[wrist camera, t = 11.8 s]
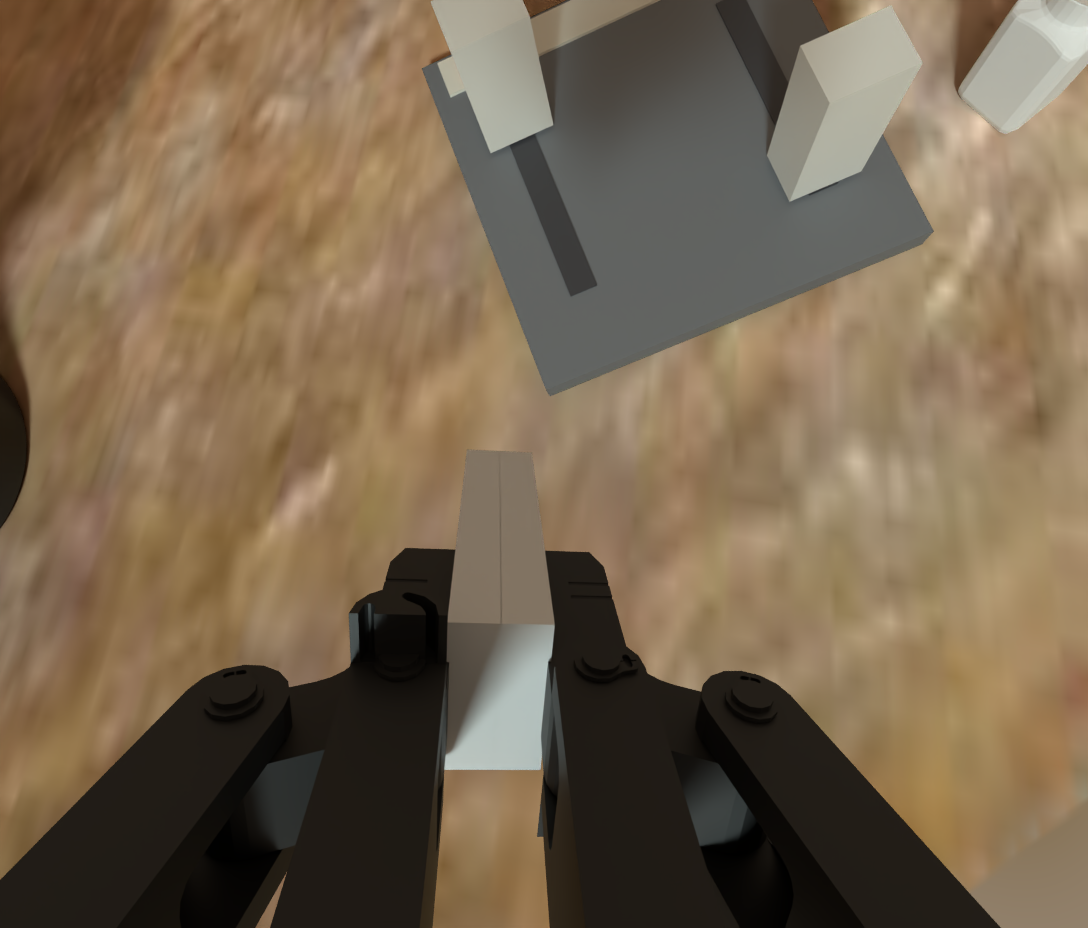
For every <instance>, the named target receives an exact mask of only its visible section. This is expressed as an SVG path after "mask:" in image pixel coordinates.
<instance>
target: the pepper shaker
mask: <svg viewBox="0 0 1088 928" xmlns="http://www.w3.org/2000/svg"><path fill="white" fill-rule="evenodd" d="M1087 64H1088V0H1018V1H1017V2H1016V3H1015V4H1014V6H1013V7H1012V9H1011V10H1010V12H1009V13H1008V15H1007V16H1006V18H1005V19H1004V20H1003V22H1002V23H1001V25H1000V26H999V28H998V29H997V31H996V32H995V34H994V35H993V37H992V38H991V40H990V41H989V43H988V44H987V46H986V47H985V49H984V50H983V52H982V53H981V55H980V56H979V58H978V59H977V61H976V62H975V64H974V65H973V66H972V68H971V69H970V71H969V72H968V74H967V75H966V77H965V78H964V80H963V81H962V83H961V85H960V87H959V91H958V93H959V95H960V97H961V99H962V100H964V101H965V102H966V103H967V104H968V105H969V106H970V107H972V108H973V109H974V110H975V111H976V112H977V113H978V114H979V115H981V116H982V117H983V118H984V119H985V120H986V121H987V122H988V123H990V124H991V125H992V126H993V127H994V128H995V129H996V130H998V131H999V132H1001V133H1004V134H1007V133H1009V132H1012V131H1014V130H1017V129H1018V128H1020V127H1021V126H1022V125H1023V124H1025V123H1026V122H1027V121H1028V120H1029V119H1031V118H1032V117H1033V116H1034V115H1036V114H1037V113H1038V112H1039V111H1041V110H1042V109H1043V108H1044V107H1045V106H1047V105H1048V104H1049V103H1050V102H1052V101H1053V100H1054V99H1055V98H1056V97H1058V96H1059V95H1060V94H1061V93H1062V92H1063V91H1064V89H1065V88H1066V87H1067V86H1068V85H1069V84H1070V83H1071V82H1072V81H1073V80H1074V78H1075V77H1076V76H1077V75H1078V74H1079V73H1080V72H1081V71H1082V70H1083V69H1084V67H1085V66H1086V65H1087Z"/></svg>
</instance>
